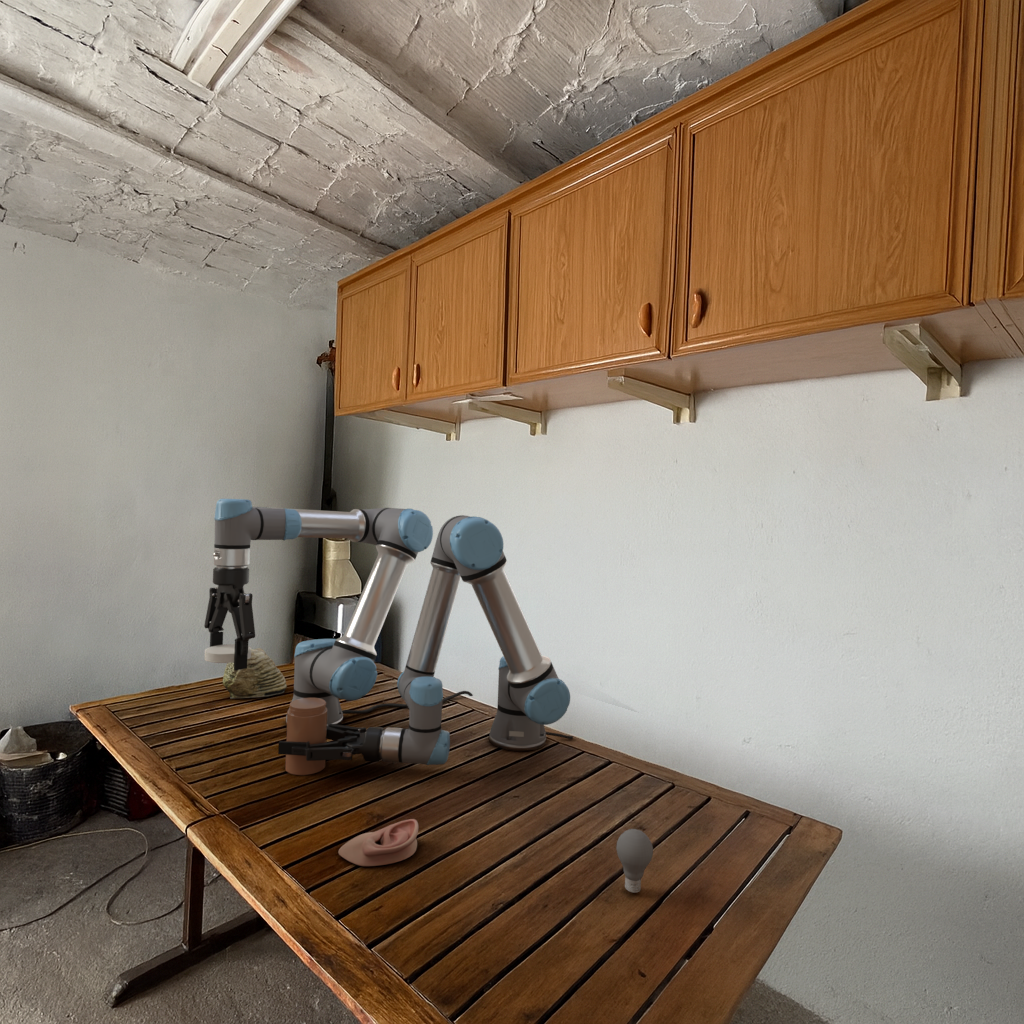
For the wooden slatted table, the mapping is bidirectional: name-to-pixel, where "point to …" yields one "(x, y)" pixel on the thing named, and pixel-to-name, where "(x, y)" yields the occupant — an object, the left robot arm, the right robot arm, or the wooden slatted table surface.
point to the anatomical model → (382, 845)
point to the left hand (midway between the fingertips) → (227, 664)
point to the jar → (306, 732)
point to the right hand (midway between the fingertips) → (287, 739)
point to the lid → (222, 653)
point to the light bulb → (634, 857)
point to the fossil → (254, 677)
